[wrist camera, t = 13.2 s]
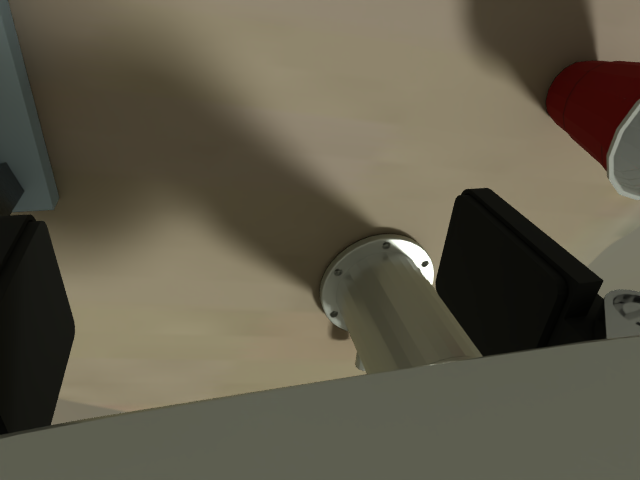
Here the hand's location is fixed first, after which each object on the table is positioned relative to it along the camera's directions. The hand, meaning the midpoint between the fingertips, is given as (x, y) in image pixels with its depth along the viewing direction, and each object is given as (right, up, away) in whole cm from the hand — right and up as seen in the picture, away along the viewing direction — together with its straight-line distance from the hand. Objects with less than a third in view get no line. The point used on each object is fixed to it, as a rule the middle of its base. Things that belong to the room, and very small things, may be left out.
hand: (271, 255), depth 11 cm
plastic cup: (+25, +14, +33) cm, 44 cm away
